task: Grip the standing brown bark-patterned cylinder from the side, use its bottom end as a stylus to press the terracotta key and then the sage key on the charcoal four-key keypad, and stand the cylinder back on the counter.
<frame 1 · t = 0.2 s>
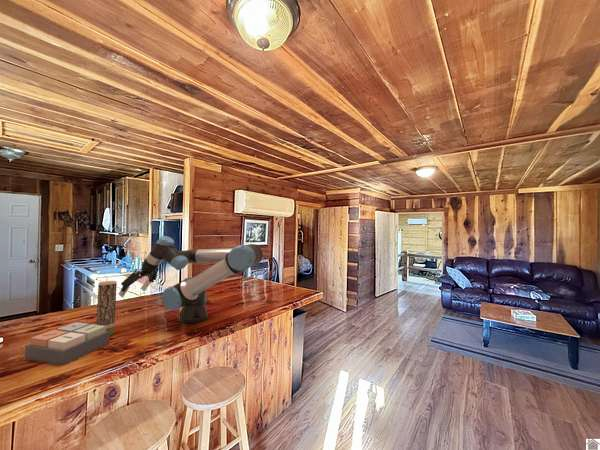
hand: (132, 292, 132), 16 cm above the counter, tool tilted 35°, fingers open, 13 cm apart
key cream: (67, 341, 95), point 6 cm above the counter, slide at 0.0 cm
brown bark-patterned cylinder: (105, 335, 115), on the counter
cupcake: (202, 302, 169), on the counter
keypad: (69, 350, 100), on the counter
key slate: (73, 329, 105), point 6 cm above the counter, slide at 0.0 cm
key terracotta: (49, 338, 97), point 6 cm above the counter, slide at 0.0 cm
key sage: (90, 331, 104), point 6 cm above the counter, slide at 0.0 cm
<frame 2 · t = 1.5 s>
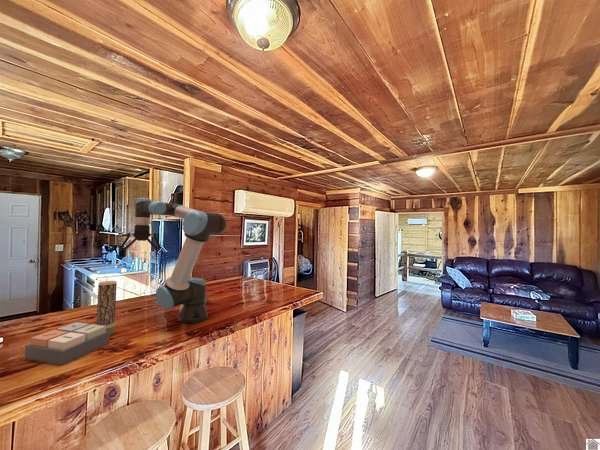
hand: (140, 261, 141), 32 cm above the counter, tool pointing down, fingers open, 13 cm apart
nothing on the counter moved.
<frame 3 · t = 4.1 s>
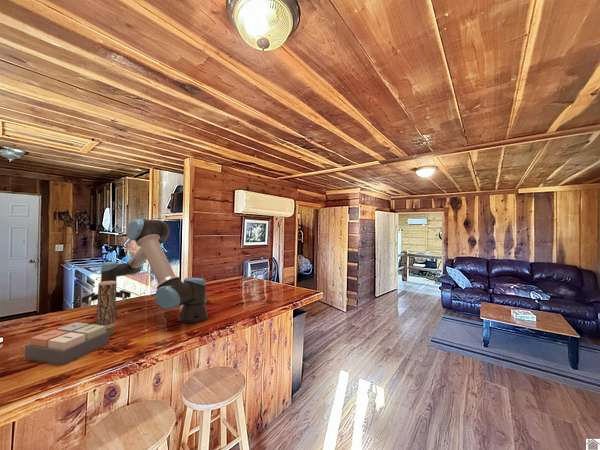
hand: (107, 301, 123), 14 cm above the counter, tool horizontal, fingers open, 13 cm apart
nothing on the counter moved.
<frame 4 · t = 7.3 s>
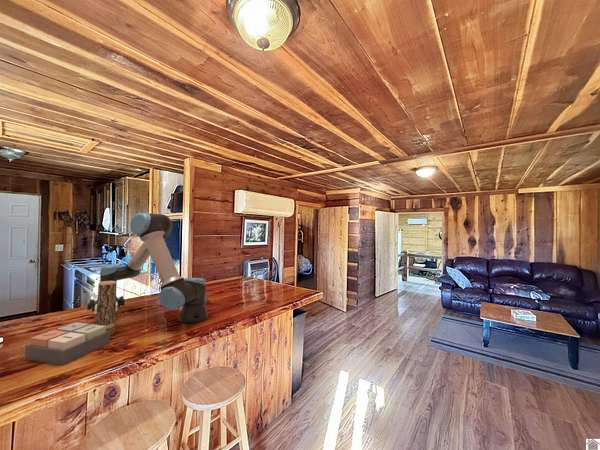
hand: (106, 309, 111), 14 cm above the counter, tool horizontal, fingers closed on brown bark-patterned cylinder, 7 cm apart
brown bark-patterned cylinder: (105, 335, 115), on the counter, touching gripper
everything else where it was.
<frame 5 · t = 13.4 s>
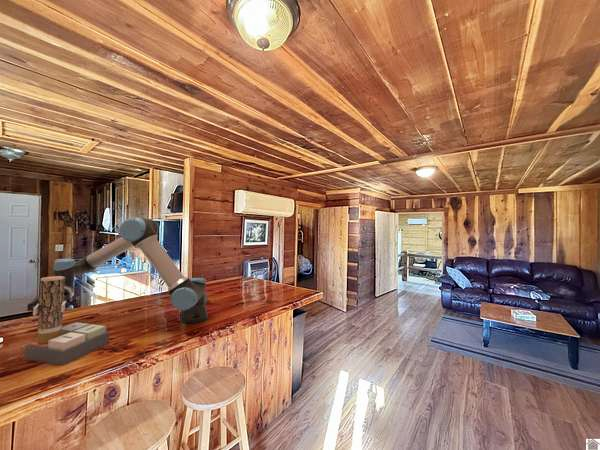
hand: (48, 310, 93), 19 cm above the counter, tool horizontal, fingers closed on brown bark-patterned cylinder, 7 cm apart
brown bark-patterned cylinder: (49, 341, 97), point 5 cm above the counter, touching gripper, key terracotta
key terracotta: (49, 344, 97), point 4 cm above the counter, slide at 2.4 cm, touching brown bark-patterned cylinder
everything else where it was.
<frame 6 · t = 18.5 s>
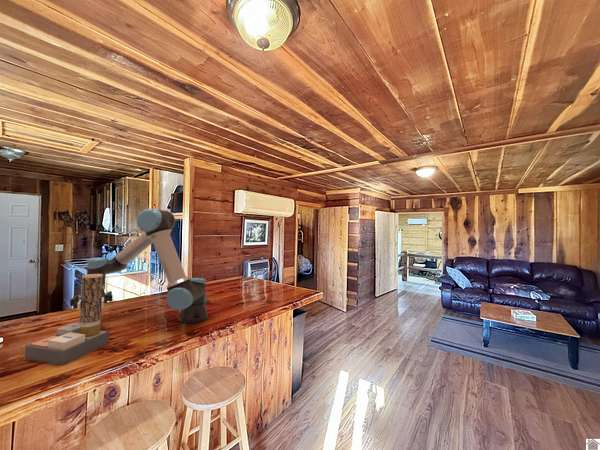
hand: (90, 305, 100), 19 cm above the counter, tool horizontal, fingers closed on brown bark-patterned cylinder, 7 cm apart
brown bark-patterned cylinder: (90, 334, 104), point 5 cm above the counter, touching gripper, key sage
key terracotta: (49, 344, 97), point 4 cm above the counter, slide at 2.4 cm
key sage: (89, 337, 104), point 4 cm above the counter, slide at 2.4 cm, touching brown bark-patterned cylinder
everything else where it was.
when the fingers open (15 cm above the counter, at t = 23.6 s): brown bark-patterned cylinder drops 1 cm, on the counter.
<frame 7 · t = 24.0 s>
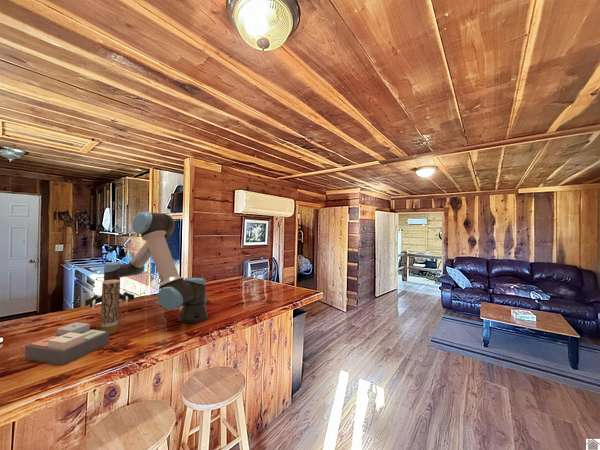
hand: (110, 304, 115), 15 cm above the counter, tool horizontal, fingers open, 12 cm apart
brown bark-patterned cylinder: (109, 333, 118), on the counter
key sage: (89, 337, 104), point 4 cm above the counter, slide at 2.4 cm
everything else where it was.
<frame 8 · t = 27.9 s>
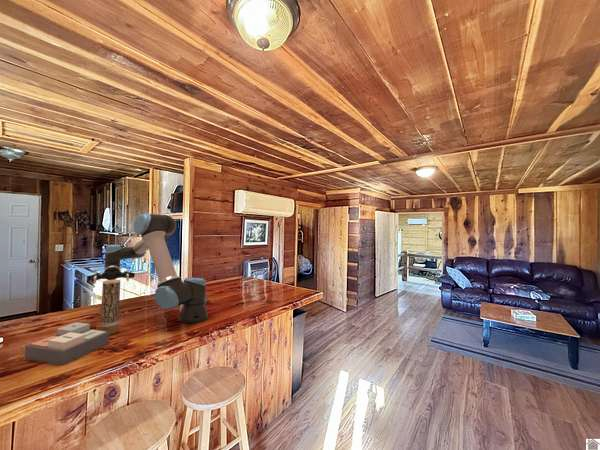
hand: (111, 279, 126), 24 cm above the counter, tool horizontal, fingers open, 13 cm apart
nothing on the counter moved.
at the end: key terracotta slide at 2.4 cm; key sage slide at 2.4 cm; brown bark-patterned cylinder inside the target area (0.2 cm from its centre), on the counter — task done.
